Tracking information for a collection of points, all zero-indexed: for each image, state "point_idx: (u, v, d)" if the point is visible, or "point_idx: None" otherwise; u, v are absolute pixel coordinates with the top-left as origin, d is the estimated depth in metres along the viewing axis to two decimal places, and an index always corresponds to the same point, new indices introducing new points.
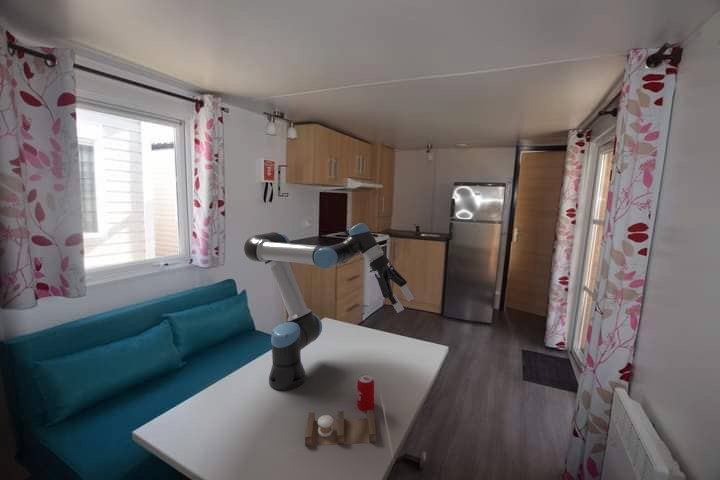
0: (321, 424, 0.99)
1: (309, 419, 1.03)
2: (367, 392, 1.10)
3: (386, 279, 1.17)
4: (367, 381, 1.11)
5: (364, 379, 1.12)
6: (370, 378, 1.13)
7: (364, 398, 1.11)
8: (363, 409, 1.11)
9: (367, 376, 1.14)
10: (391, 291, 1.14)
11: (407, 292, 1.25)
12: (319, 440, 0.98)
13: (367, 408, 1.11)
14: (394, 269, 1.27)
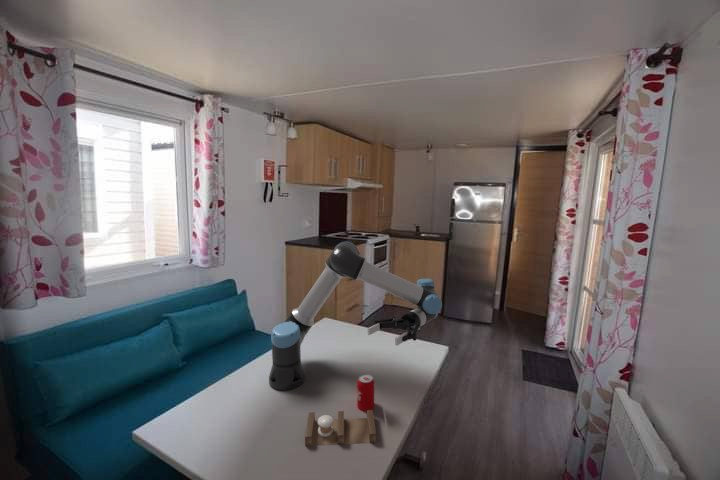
0: (321, 424, 0.99)
1: (309, 419, 1.03)
2: (367, 392, 1.10)
3: None
4: (367, 381, 1.11)
5: (364, 379, 1.12)
6: (370, 378, 1.13)
7: (364, 398, 1.11)
8: (363, 409, 1.11)
9: (367, 376, 1.14)
10: None
11: (374, 330, 1.25)
12: (319, 440, 0.98)
13: (367, 408, 1.11)
14: None
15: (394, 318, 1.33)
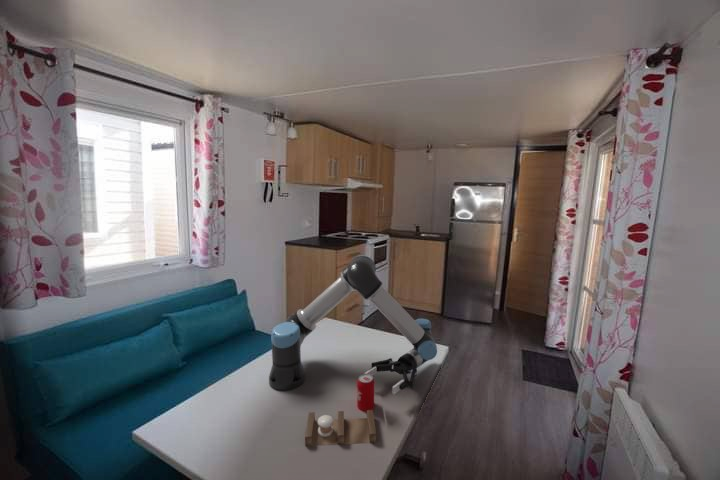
0: (321, 424, 0.99)
1: (309, 419, 1.03)
2: (367, 392, 1.10)
3: None
4: (367, 381, 1.11)
5: (364, 379, 1.12)
6: (370, 378, 1.13)
7: (364, 398, 1.11)
8: (363, 409, 1.11)
9: (367, 376, 1.14)
10: None
11: (371, 374, 1.25)
12: (319, 440, 0.98)
13: (367, 408, 1.11)
14: None
15: (391, 360, 1.33)
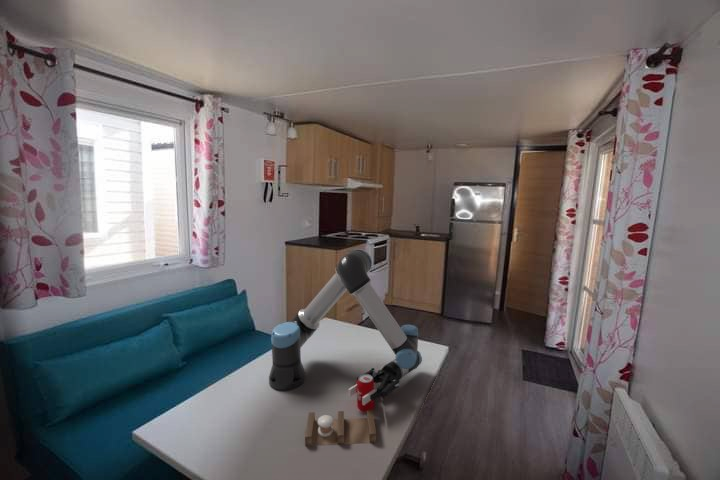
0: (321, 424, 0.99)
1: (309, 419, 1.03)
2: (367, 392, 1.10)
3: None
4: (367, 381, 1.11)
5: (364, 379, 1.12)
6: (370, 378, 1.13)
7: None
8: (363, 409, 1.11)
9: (367, 376, 1.14)
10: None
11: (356, 390, 1.14)
12: (319, 440, 0.98)
13: (367, 408, 1.11)
14: None
15: (374, 370, 1.25)
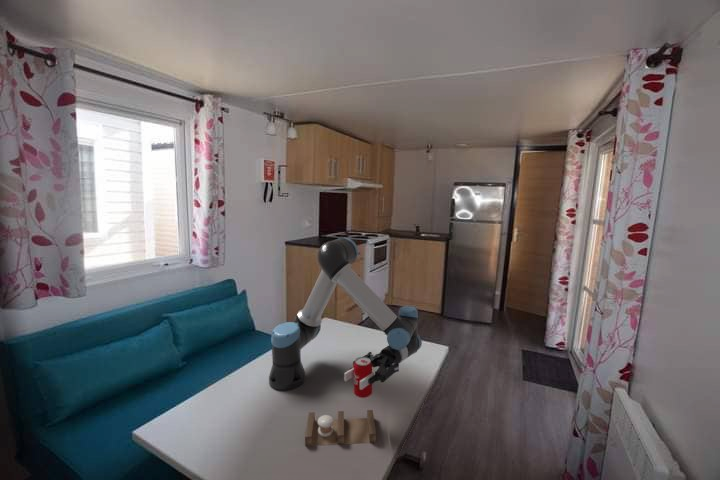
0: (321, 424, 0.99)
1: (309, 419, 1.03)
2: (364, 375, 1.01)
3: None
4: (365, 364, 1.02)
5: (361, 362, 1.03)
6: (368, 361, 1.04)
7: None
8: (360, 394, 1.02)
9: (364, 359, 1.05)
10: None
11: (352, 374, 1.05)
12: (319, 440, 0.98)
13: (365, 393, 1.02)
14: None
15: (371, 354, 1.16)
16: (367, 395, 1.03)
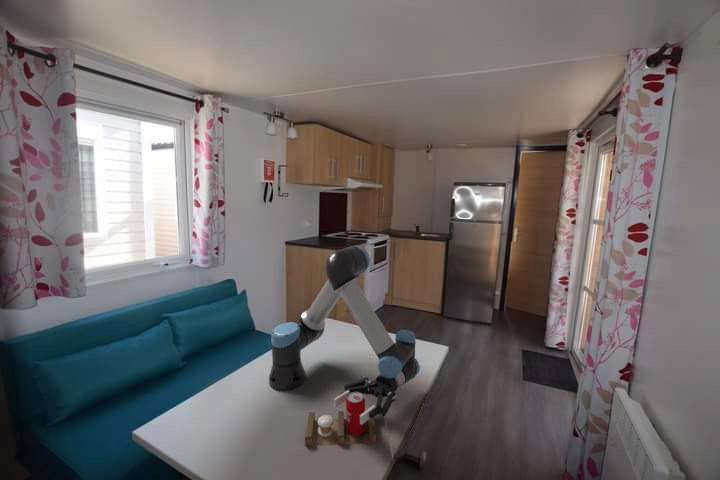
0: (321, 424, 0.99)
1: (309, 419, 1.03)
2: (357, 413, 0.98)
3: None
4: (357, 400, 0.99)
5: (354, 398, 1.00)
6: (360, 397, 1.01)
7: (354, 420, 0.98)
8: (353, 432, 0.99)
9: (357, 394, 1.02)
10: None
11: (343, 400, 1.04)
12: (319, 440, 0.98)
13: (357, 431, 0.99)
14: None
15: (367, 379, 1.13)
16: (360, 432, 0.99)
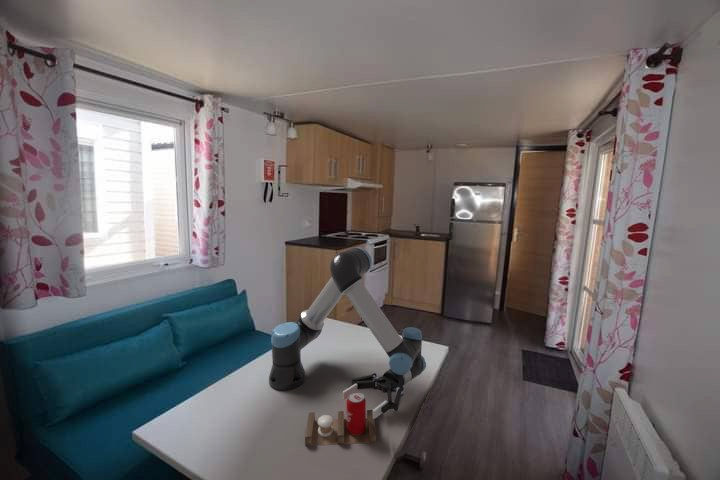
0: (321, 424, 0.99)
1: (309, 419, 1.03)
2: (357, 413, 0.98)
3: None
4: (358, 400, 0.99)
5: (354, 398, 1.00)
6: (361, 397, 1.01)
7: (354, 420, 0.99)
8: (353, 432, 0.99)
9: (358, 394, 1.02)
10: None
11: None
12: (319, 440, 0.98)
13: (358, 431, 0.99)
14: None
15: (375, 375, 1.16)
16: (360, 432, 1.00)
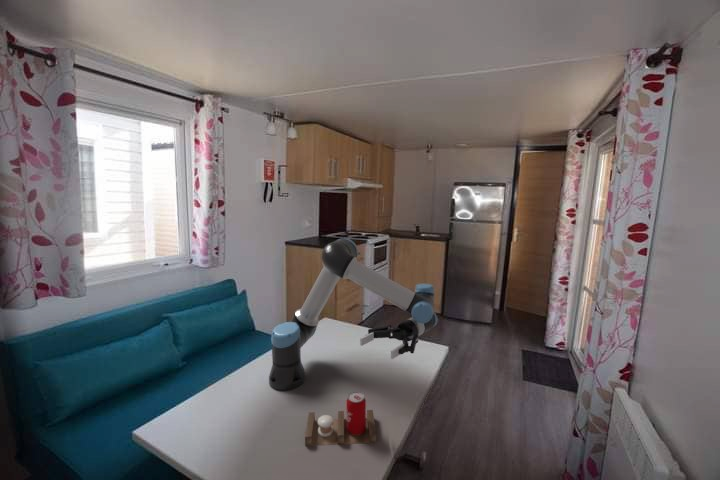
0: (321, 424, 0.99)
1: (309, 419, 1.03)
2: (357, 413, 0.98)
3: None
4: (358, 400, 0.99)
5: (354, 398, 1.00)
6: (361, 397, 1.01)
7: (354, 420, 0.99)
8: (353, 432, 0.99)
9: (358, 394, 1.02)
10: None
11: (368, 340, 1.13)
12: (319, 440, 0.98)
13: (358, 431, 0.99)
14: None
15: (390, 327, 1.21)
16: (360, 432, 1.00)
